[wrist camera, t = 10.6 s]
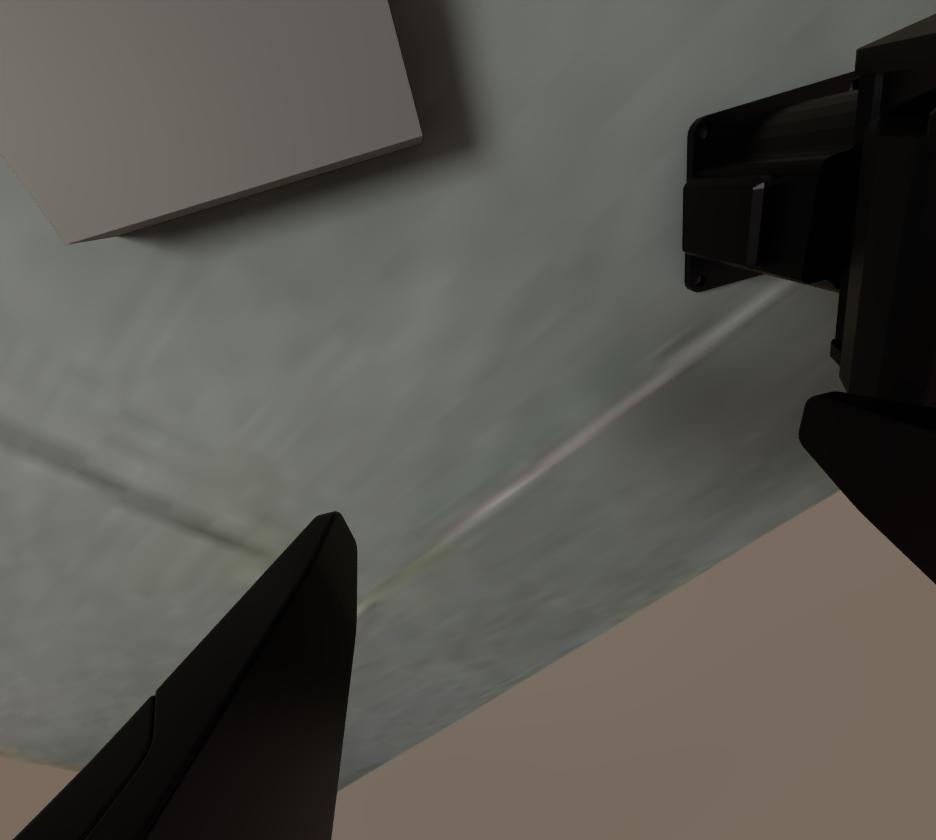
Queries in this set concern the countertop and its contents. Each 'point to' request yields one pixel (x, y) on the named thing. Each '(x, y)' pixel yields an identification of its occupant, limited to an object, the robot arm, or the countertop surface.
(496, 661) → the countertop surface
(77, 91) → the gray u-shaped block
